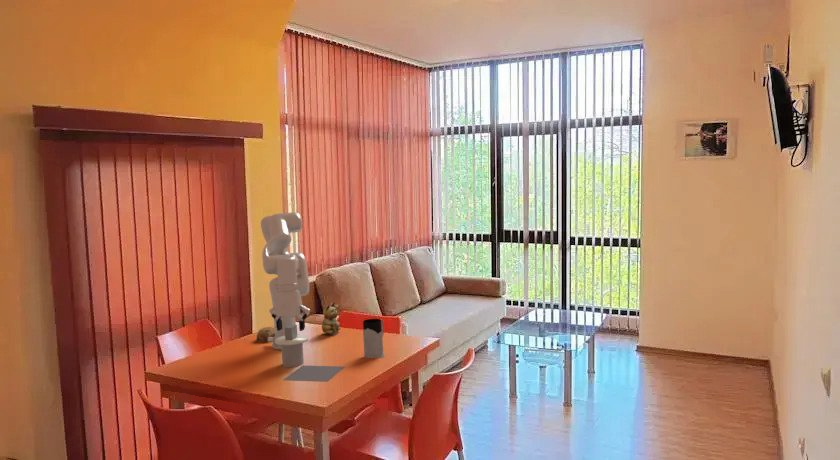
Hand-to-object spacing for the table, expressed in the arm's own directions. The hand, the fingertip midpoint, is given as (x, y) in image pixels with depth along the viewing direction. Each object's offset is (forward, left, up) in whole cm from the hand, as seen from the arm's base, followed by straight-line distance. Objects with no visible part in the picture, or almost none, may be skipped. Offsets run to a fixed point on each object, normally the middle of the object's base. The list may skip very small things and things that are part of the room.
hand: (290, 330), depth 253 cm
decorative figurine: (-4, +50, -15) cm, 52 cm away
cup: (0, 0, -15) cm, 15 cm away
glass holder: (+30, +17, -15) cm, 37 cm away
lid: (0, 0, -4) cm, 4 cm away
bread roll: (-31, +38, -15) cm, 51 cm away
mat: (+14, -11, -14) cm, 23 cm away
